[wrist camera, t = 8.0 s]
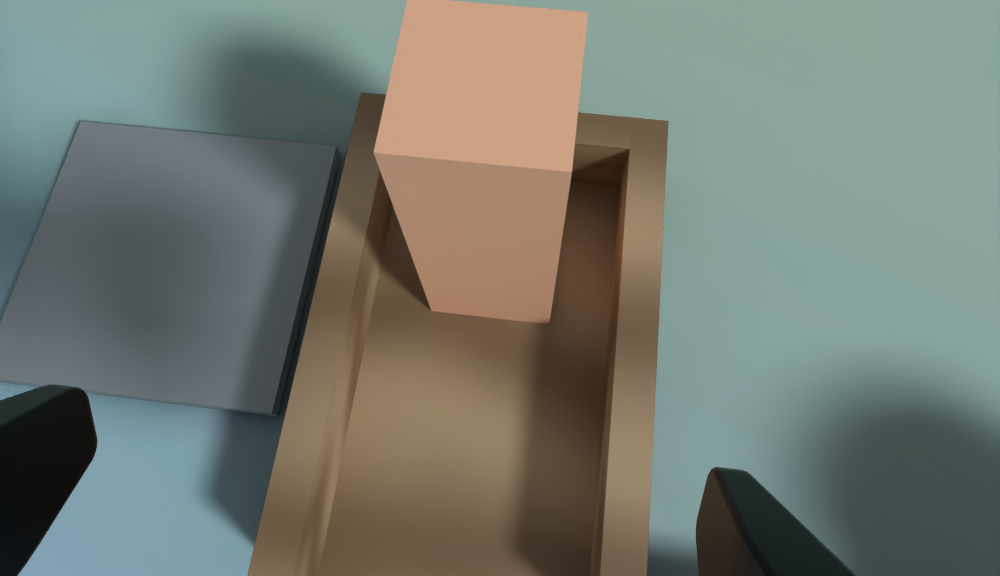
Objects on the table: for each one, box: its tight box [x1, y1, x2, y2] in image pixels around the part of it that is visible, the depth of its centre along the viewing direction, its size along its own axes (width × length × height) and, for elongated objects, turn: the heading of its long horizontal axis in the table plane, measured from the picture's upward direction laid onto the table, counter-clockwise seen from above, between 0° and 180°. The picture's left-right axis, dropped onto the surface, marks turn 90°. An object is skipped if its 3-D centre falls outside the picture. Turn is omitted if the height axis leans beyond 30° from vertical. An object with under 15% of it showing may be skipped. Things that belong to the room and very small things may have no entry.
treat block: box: [374, 0, 588, 324], centre depth 19 cm, size 4×4×10 cm
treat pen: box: [247, 93, 668, 576], centre depth 21 cm, size 17×22×3 cm
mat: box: [0, 121, 340, 417], centre depth 24 cm, size 10×10×1 cm
